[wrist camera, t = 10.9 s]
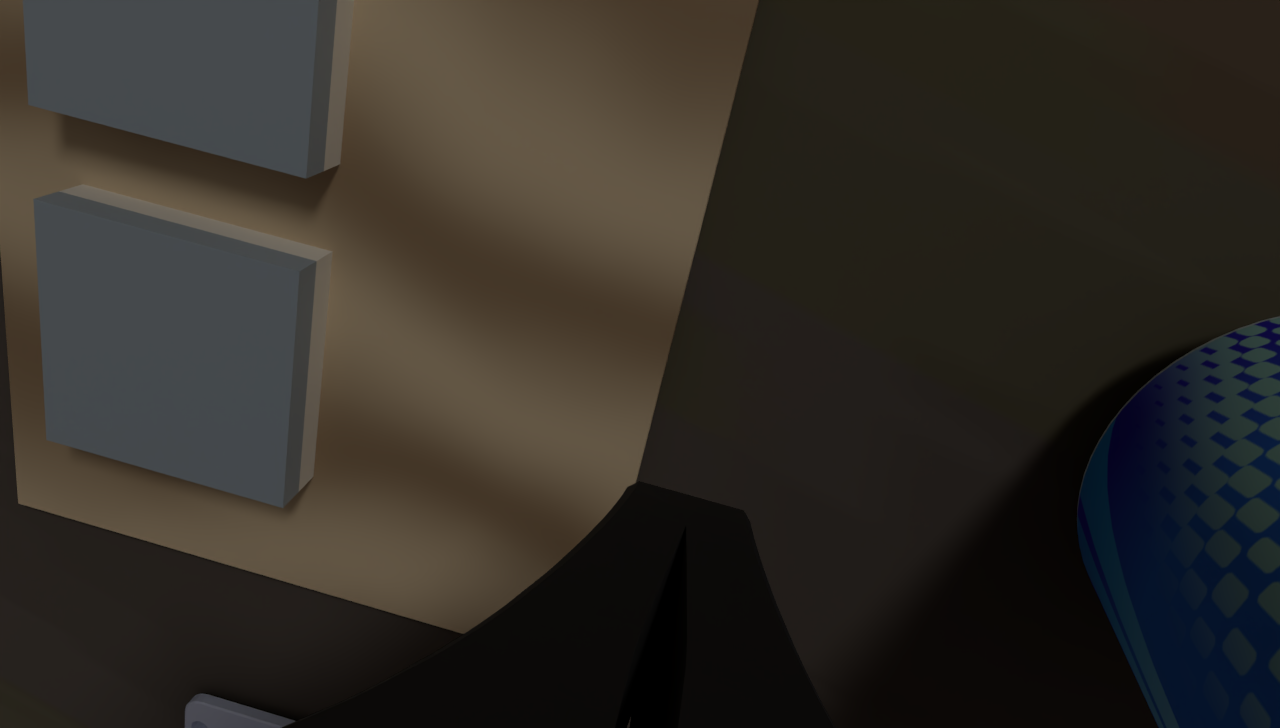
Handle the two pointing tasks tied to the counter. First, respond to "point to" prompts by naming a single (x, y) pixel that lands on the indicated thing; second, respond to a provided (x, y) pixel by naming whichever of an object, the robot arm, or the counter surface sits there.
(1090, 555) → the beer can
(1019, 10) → the counter surface
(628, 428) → the cork mat
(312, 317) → the tile far
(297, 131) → the tile near
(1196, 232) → the counter surface
